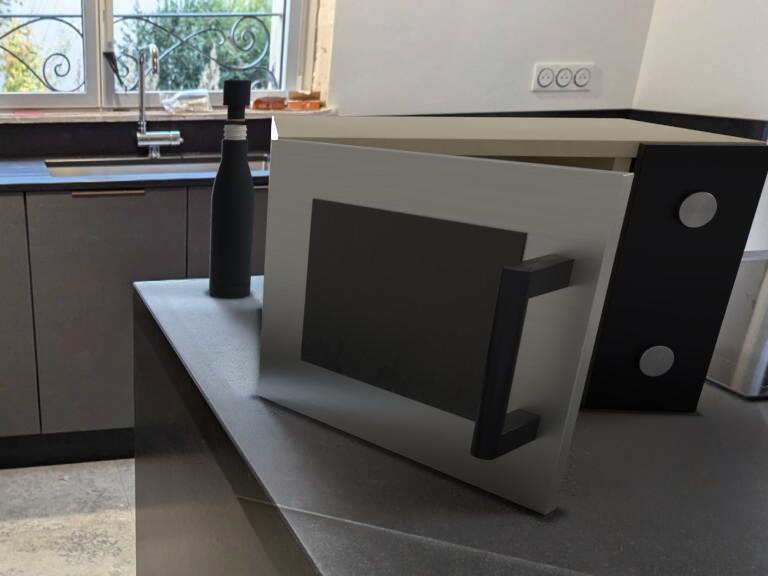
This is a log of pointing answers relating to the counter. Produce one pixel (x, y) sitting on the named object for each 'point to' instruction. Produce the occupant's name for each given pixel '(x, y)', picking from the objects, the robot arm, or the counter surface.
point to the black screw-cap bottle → (232, 202)
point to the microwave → (637, 237)
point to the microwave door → (438, 304)
